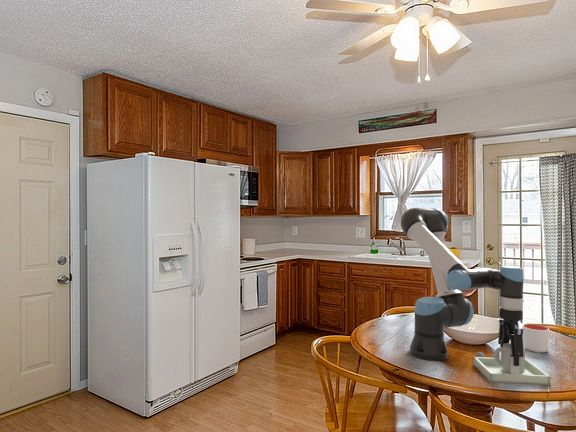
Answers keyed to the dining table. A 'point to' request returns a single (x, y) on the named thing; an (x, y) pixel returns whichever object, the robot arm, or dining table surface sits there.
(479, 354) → the mixing ball
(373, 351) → the dining table surface
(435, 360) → the robot arm
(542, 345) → the cup
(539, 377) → the tray
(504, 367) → the cup
